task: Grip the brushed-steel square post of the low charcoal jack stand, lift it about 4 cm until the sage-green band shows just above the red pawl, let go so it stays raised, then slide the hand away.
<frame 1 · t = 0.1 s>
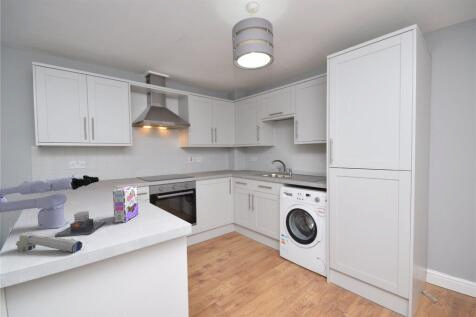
hand: (94, 180, 108), 22 cm above the counter, tool horizontal, fingers open, 7 cm apart
column: (81, 219, 99), point 5 cm above the counter, slide at 0.0 cm
grey elongated piece: (49, 251, 80), on the counter
candy box: (127, 218, 115), on the counter
stand: (82, 229, 100), on the counter
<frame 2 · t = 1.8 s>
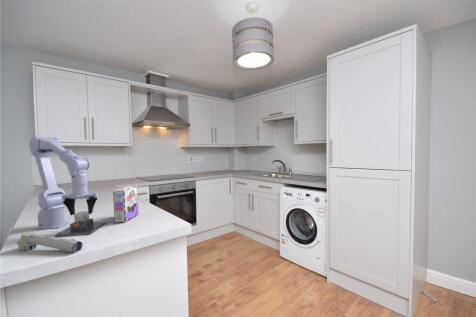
hand: (81, 214, 99), 7 cm above the counter, tool pointing down, fingers open, 7 cm apart
nothing on the counter moved.
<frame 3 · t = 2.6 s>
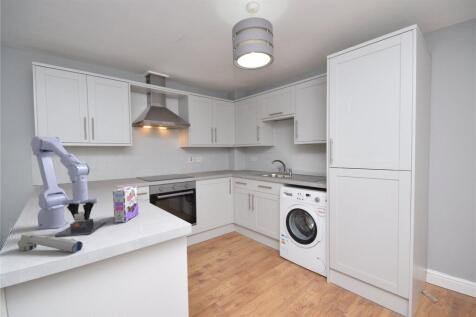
hand: (81, 219, 99), 5 cm above the counter, tool pointing down, fingers closed on column, 4 cm apart
column: (81, 219, 99), point 5 cm above the counter, slide at 0.0 cm, touching gripper
everything else where it was.
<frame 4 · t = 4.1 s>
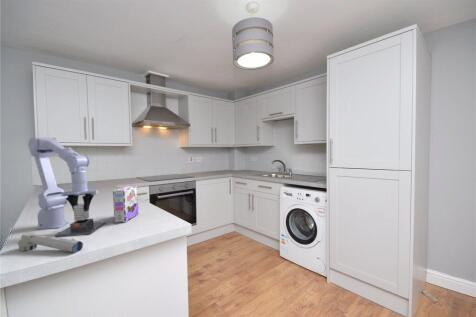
hand: (81, 210, 99), 9 cm above the counter, tool pointing down, fingers closed on column, 4 cm apart
column: (81, 211, 99), point 8 cm above the counter, slide at 3.8 cm, touching gripper
everything else where it was.
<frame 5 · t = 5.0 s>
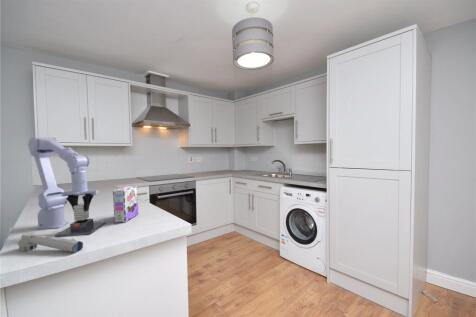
hand: (81, 210, 99), 9 cm above the counter, tool pointing down, fingers closed on column, 4 cm apart
column: (81, 211, 99), point 8 cm above the counter, slide at 3.8 cm, touching gripper
everything else where it was.
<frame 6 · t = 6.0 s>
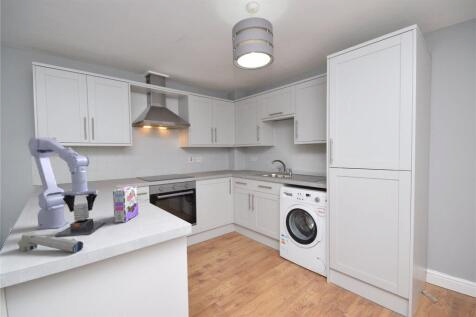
hand: (81, 210, 99), 9 cm above the counter, tool pointing down, fingers open, 7 cm apart
column: (81, 211, 99), point 8 cm above the counter, slide at 3.8 cm
everything else where it was.
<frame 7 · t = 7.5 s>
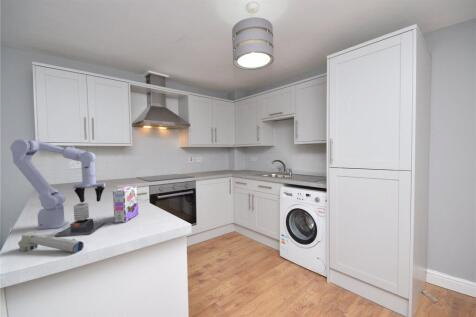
hand: (90, 201, 111), 10 cm above the counter, tool pointing down, fingers open, 7 cm apart
nothing on the counter moved.
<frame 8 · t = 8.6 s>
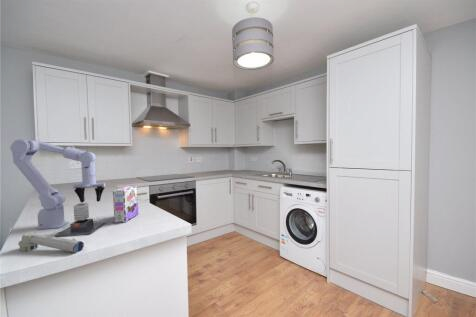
hand: (90, 201, 111), 10 cm above the counter, tool pointing down, fingers open, 7 cm apart
nothing on the counter moved.
at the end: column slide at 3.8 cm; the gripper is holding nothing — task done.
